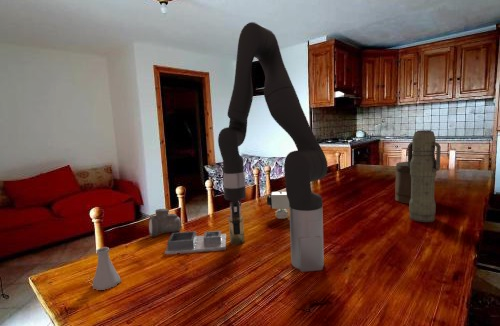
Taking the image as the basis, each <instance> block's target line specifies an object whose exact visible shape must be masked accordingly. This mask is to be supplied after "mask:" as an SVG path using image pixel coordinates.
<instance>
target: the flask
mask: <svg viewBox="0 0 500 326" xmlns="http://www.w3.org/2000/svg"><path fill="white" fill-rule="evenodd" d="M95 251H96V254H97V265H96V269H95V274H94V277H93V281H92V284H93V286H92V289H93V288H94V289H98V290H104V289H107V290H109V289H108V288H110V289H112V288H111V287H113V288H115V287H116V286H118V285H119V284H121V283H122V279H121V277H120V275H119V273H118V272H117V270H116V269H115V266H114V264H113V263H112V261H111V258H110V254H109V252H110V248H109V247H107V246H104V247H100V248H98V249H96V250H95ZM120 282H121V283H120ZM118 283H119V284H118ZM117 284H118V285H117ZM114 286H115V287H114ZM98 290H97V291H98ZM104 291H105V290H104Z"/></svg>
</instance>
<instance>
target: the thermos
mask: <svg viewBox="0 0 500 326" xmlns="http://www.w3.org/2000/svg"><path fill="white" fill-rule="evenodd" d="M441 149H442V148H441V145H440V143H439V142H436V135H435V133H434V130H431V129H428V130H427V129H426V130H423V129H422V130H421V129H420V130H416V131H415V132H414V134H413V137H412V142H410V143H409V144H408V145H407V162H408V167H409V168H410V175H411V199H410V202H409V204H408V205H409V207H408V208H409V209H408V210H409V211H408V212H409V219H410V220H412V221H415V222H419V223H432V222H435V221H436V220H435V217H436V216H435V215H436V205H437V203H436V200H435V184H436V182H435V179H436V177H437V171H440V168H441V151H442V150H441ZM435 151H436V154H435Z"/></svg>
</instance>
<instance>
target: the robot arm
mask: <svg viewBox="0 0 500 326" xmlns="http://www.w3.org/2000/svg"><path fill="white" fill-rule="evenodd" d="M237 43H238V44H237V51H236V59H235V61H236V62H235V70H234V71H235V73H234V83H233V89H232V92H231V97H230V100H229V105H228V109H227V117H228V118H229V123H228V127H227V126H226V127H224V128H223V129H221V130H220V131H219V134H218V136H217V137H218V138H217V144H218V148H219V152H220V156H221V158H222V169H223V172H222V173H223V177H222V182H223V197H224V199H225V200H226V201H231V202H229V210H230V216H231V218H232V223H233V231H234V235H238V234H240V217H241V215H242V211H241V210H242V201H241V200H245V198H246V197H247V196H246V195H247V194H246V193H247V192H246V177H245V176H246V175H245V172H244V171H245V169H244V168H245V167H244V157H243V156H242V155H240V152H239V147H240V146H242V144H243V143H244V141H245V139H246V136H247V131H248V130H247V129H248V118H249V114H250V113H251V112H250V111H251V108H252V105H253V99H254V90H253V82H252V81H253V79H252V66H253V62H254V60H255V58H256V59H257V60H258V62H259V63H260V66H261V68H262V71H263V73H264V77H265V79H264V86H263V96H264V97H263V98H264V99H265V103H266V106H267V109H268V111H269V114H270V116H271V118H273V120H274V121H275V122H276V123H277V124H278V126H279V127H281V128H282V129H283V130H284V131H285V132H286V133H287V134H288V136H289V137H290V138H291V139H292V141H293V142H294V145H295V147H296V149H297V150H293V151H291V152H289V153H287V155H286V156H285V159H284V163H283V165H284V166H283V171H284V172H283V173H284V181H285V192H286V194H287V197H288V200H289V209H288V210H289V233H290V254H291V255H290V257H291V258H290V259H291V261H290V262H291V266H292V267H293V268H295V269H298V270H299V271H300V272H301V273H304V272H314V271H315V272H316V271H323V268H324V264H325V263H324V262H325V257H324V255H325V254H324V253H325V252H324V223H323V222H324V220H323V219H324V216H323V209H324V208H323V197H322V196H321V194H318V193H316V192H313V191H312V185H311V182H316V181H319V180H321V179H324V178H325V177H326V175H327V173H328V170H329V169H328V167H329V165H328V161H327V157H326V155H325V153H324V150H323V149H322V146H321V145H320V143H319V141H318V139H317V138H316V135H315V134H314V132H313V130H312V128H311V125H310V123H309V121H308V119H307V116H306V114H305V112H304V110H303V108H302V105H301V103H300V99H299V96H298V94H297V91H296V88H295V86H294V85H293V82H292V80H291V77H290V75H289V73H288V70H287V68H286V65H285V63H284V61H283V57H282V53H281V49H280V46H279V42H278V39H277V37H276V35H275V34H274V32H273V31H271V30H270V29H269V28H267V27H265V26H263V25H261V24H259V23H257V22H254V21H251V22H247V24H245V25H244V26H243V27H242V29H241V30H240V34H239V37H238V42H237ZM234 218H238V220H234Z"/></svg>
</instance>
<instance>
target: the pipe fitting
mask: <svg viewBox="0 0 500 326" xmlns="http://www.w3.org/2000/svg"><path fill="white" fill-rule="evenodd" d="M154 211H155V215H150V216H149V219H148V232H149V236H151V238H154V237H157V236H159V234H165V233H178V232H180V231H181V229H182V219H181V217H179V216H178V215H177V214H176V213H170V210H169V209H168V208H157V209H155V210H154Z"/></svg>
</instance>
